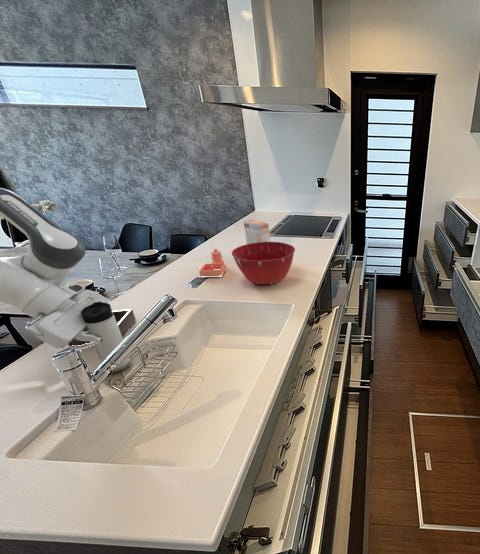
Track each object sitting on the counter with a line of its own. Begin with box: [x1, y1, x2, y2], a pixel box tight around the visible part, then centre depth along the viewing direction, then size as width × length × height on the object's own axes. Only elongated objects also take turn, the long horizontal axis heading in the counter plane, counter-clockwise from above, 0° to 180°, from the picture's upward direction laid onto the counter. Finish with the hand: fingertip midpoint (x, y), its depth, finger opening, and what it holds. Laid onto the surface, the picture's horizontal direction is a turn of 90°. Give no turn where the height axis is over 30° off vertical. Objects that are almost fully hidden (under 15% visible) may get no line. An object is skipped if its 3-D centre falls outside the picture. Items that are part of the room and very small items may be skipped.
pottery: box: [199, 248, 226, 278], centre depth 155 cm, size 18×10×10 cm, turn 11°
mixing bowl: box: [231, 241, 296, 285], centre depth 146 cm, size 28×28×16 cm
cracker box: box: [243, 219, 271, 244], centre depth 173 cm, size 14×6×21 cm, turn 59°
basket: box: [67, 308, 137, 348], centre depth 104 cm, size 14×14×5 cm
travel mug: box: [81, 301, 132, 373], centre depth 86 cm, size 6×7×20 cm
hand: (107, 332), depth 85 cm, fingers closed on travel mug, 6 cm apart
